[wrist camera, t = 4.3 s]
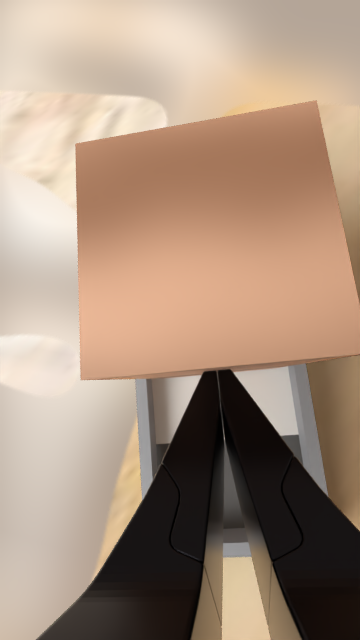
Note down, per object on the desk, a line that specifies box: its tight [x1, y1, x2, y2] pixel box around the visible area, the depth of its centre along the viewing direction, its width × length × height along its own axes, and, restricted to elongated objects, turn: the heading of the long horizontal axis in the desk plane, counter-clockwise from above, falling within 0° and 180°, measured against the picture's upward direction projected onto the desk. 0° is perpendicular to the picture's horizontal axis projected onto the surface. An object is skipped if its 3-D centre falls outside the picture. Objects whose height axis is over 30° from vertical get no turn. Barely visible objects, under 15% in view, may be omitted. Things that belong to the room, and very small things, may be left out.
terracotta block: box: [75, 101, 360, 380], centre depth 12 cm, size 6×6×11 cm
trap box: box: [135, 363, 328, 557], centre depth 17 cm, size 22×9×2 cm, turn 5°
